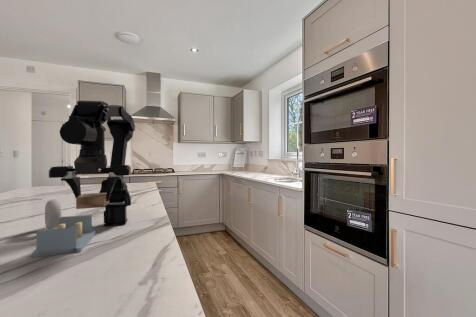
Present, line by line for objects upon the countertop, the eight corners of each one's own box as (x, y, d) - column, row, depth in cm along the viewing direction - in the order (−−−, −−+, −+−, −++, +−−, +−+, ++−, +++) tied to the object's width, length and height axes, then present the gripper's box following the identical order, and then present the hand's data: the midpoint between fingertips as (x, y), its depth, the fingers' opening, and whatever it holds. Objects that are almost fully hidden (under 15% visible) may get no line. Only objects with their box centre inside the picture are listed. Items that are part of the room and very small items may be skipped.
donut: (62, 232, 73) (62, 200, 73) (48, 235, 71) (48, 202, 70) (57, 226, 80) (56, 196, 80) (44, 228, 77) (43, 198, 77)
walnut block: (109, 202, 69) (109, 192, 69) (104, 207, 63) (104, 196, 63) (83, 204, 67) (83, 193, 67) (76, 209, 61) (76, 197, 61)
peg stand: (95, 233, 72) (95, 214, 71) (80, 251, 58) (80, 227, 58) (56, 237, 68) (56, 217, 68) (31, 257, 55) (31, 232, 55)
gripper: (38, 144, 54) (39, 211, 55) (126, 145, 61) (127, 205, 61) (56, 146, 65) (57, 202, 65) (130, 146, 71) (131, 197, 71)
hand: (93, 201), depth 65 cm, fingers closed on walnut block, 6 cm apart
